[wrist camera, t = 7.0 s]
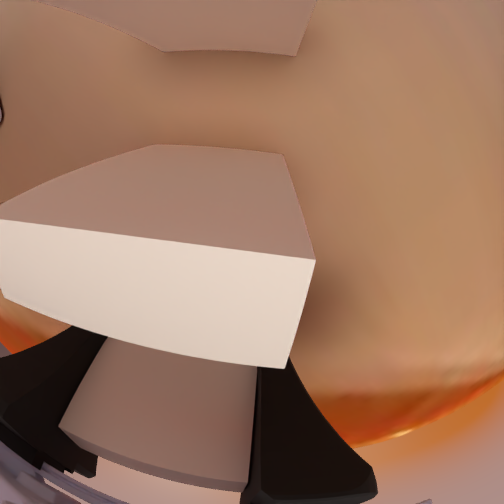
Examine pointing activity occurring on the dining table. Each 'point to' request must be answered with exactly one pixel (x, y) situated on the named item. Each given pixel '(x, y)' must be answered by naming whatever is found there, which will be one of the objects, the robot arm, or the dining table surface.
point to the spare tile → (166, 414)
